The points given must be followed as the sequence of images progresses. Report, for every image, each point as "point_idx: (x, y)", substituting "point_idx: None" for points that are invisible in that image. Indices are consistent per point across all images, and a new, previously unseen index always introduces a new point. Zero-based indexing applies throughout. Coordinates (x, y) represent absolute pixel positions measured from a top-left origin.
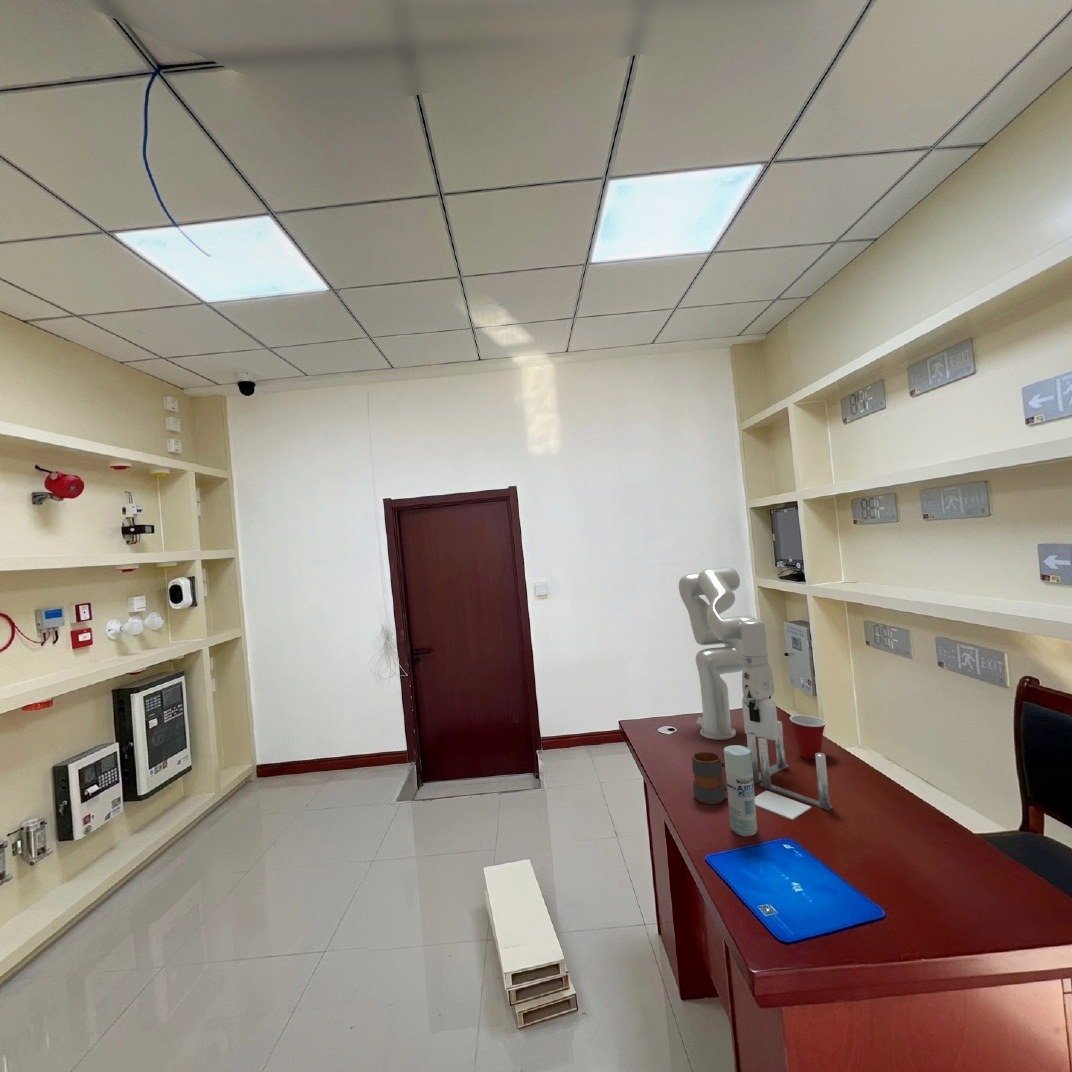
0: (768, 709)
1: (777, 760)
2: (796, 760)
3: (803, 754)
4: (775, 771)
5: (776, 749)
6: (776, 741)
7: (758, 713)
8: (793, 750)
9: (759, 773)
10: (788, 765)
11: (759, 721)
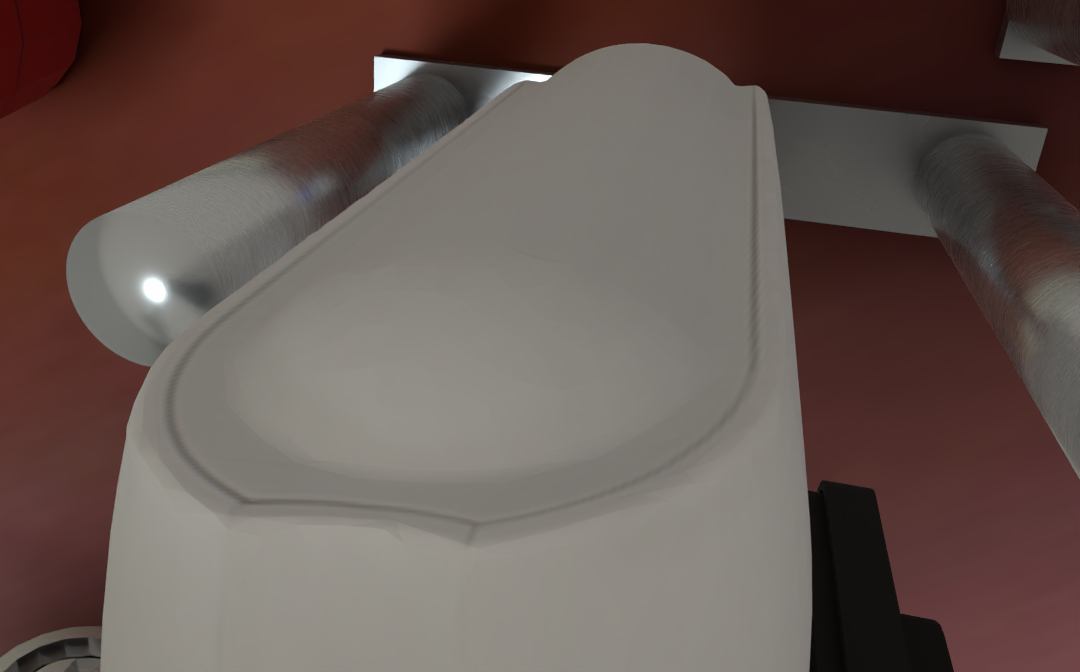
0: (798, 440)
1: None
2: (191, 61)
3: (63, 29)
4: None
5: None
6: None
7: (898, 662)
8: (11, 198)
9: (795, 201)
10: (378, 56)
11: (856, 489)
